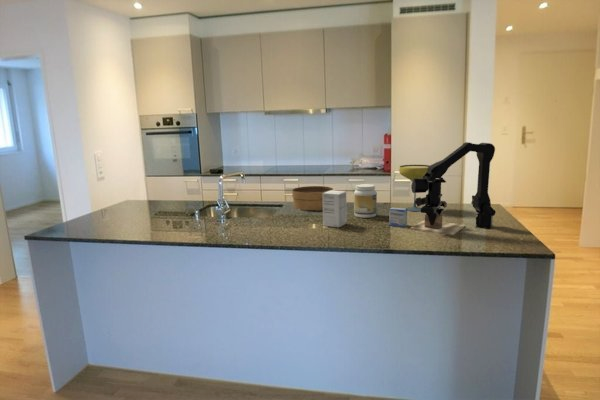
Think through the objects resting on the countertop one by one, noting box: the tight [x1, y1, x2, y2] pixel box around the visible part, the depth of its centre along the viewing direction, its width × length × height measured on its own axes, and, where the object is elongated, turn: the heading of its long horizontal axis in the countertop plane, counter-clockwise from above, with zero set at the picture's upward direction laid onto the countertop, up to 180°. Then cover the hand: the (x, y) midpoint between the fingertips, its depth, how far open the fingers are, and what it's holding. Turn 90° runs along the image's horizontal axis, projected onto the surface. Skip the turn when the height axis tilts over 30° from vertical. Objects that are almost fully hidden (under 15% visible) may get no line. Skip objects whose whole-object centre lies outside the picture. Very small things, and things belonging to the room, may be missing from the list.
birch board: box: [410, 219, 466, 236], centre depth 202 cm, size 20×18×1 cm
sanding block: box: [424, 213, 444, 229], centre depth 199 cm, size 7×4×6 cm, turn 53°
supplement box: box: [322, 189, 348, 228], centre depth 212 cm, size 10×9×17 cm
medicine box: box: [388, 207, 408, 228], centre depth 208 cm, size 8×4×9 cm, turn 62°
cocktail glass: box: [398, 164, 430, 213], centre depth 241 cm, size 18×18×25 cm
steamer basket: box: [291, 185, 334, 211], centre depth 259 cm, size 25×25×11 cm
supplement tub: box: [353, 183, 378, 219], centre depth 230 cm, size 12×12×17 cm
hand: (433, 224), depth 199 cm, fingers closed on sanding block, 4 cm apart
